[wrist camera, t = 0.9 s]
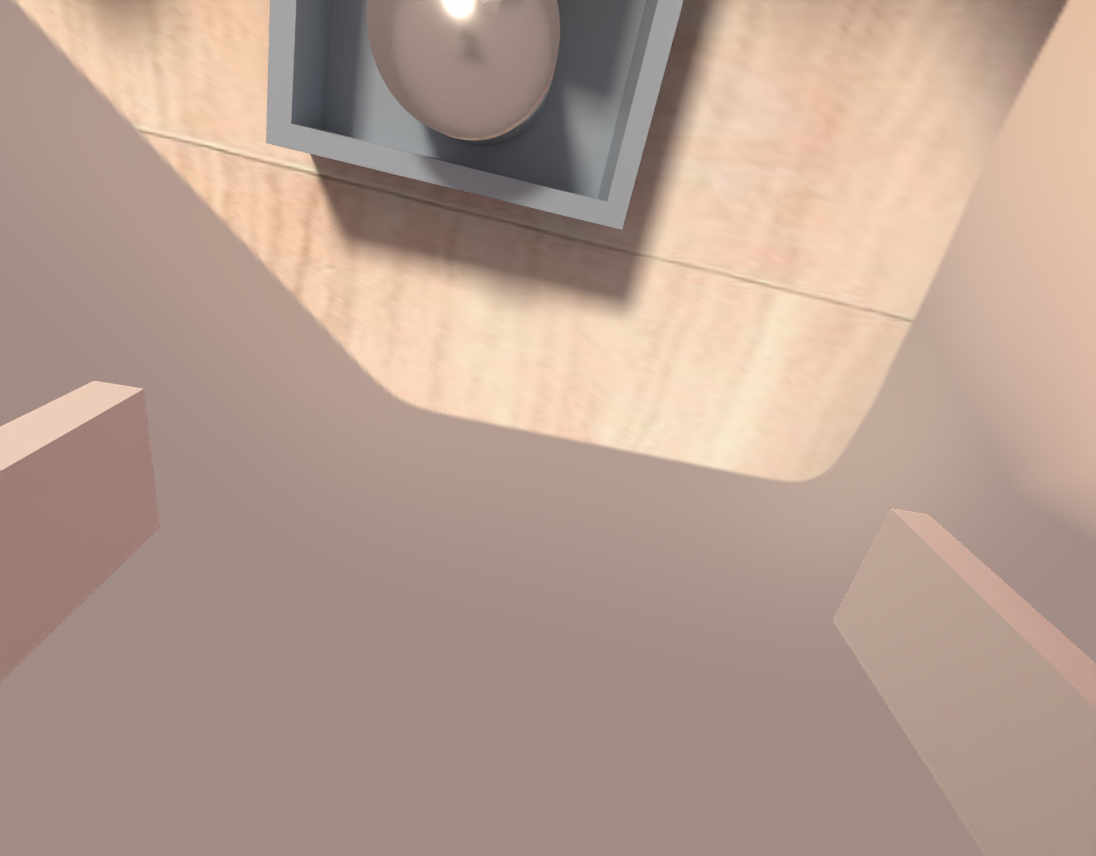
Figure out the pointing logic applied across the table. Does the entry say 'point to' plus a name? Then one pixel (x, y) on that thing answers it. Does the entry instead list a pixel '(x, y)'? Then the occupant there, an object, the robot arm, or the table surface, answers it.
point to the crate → (492, 171)
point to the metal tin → (467, 62)
